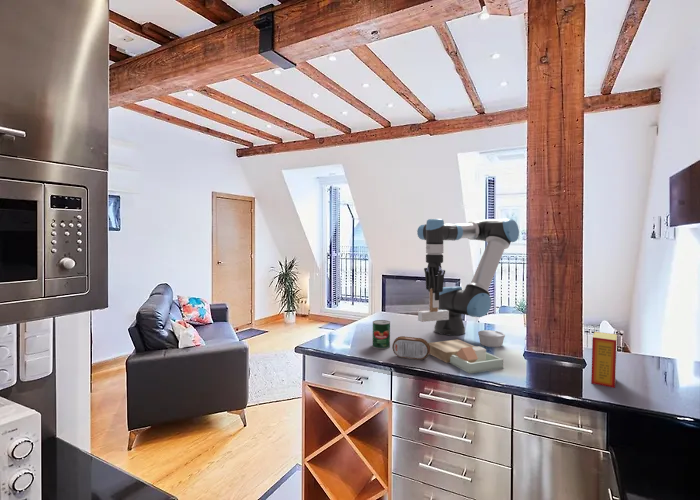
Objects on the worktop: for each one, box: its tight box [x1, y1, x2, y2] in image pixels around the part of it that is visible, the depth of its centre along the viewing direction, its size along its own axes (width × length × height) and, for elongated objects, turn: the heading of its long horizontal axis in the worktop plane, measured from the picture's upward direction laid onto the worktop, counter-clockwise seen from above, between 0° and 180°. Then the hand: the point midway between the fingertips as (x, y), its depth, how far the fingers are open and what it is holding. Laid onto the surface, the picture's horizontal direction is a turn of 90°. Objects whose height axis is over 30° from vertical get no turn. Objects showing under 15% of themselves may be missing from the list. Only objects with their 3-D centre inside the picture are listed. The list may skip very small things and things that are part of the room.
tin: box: [392, 335, 430, 361], centre depth 156 cm, size 15×3×8 cm, turn 71°
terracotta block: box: [456, 347, 478, 363], centre depth 146 cm, size 5×5×4 cm
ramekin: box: [477, 329, 506, 348], centre depth 176 cm, size 11×11×5 cm
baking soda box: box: [590, 331, 618, 389], centre depth 132 cm, size 10×6×16 cm
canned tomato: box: [372, 319, 391, 350], centre depth 172 cm, size 8×8×11 cm
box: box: [449, 351, 504, 375], centre depth 147 cm, size 15×12×4 cm
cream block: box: [472, 345, 487, 362], centre depth 150 cm, size 5×5×4 cm
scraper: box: [417, 288, 449, 323], centre depth 172 cm, size 14×3×14 cm, turn 111°
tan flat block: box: [428, 339, 476, 364], centre depth 160 cm, size 16×14×4 cm
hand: (433, 306), depth 172 cm, fingers closed on scraper, 2 cm apart
